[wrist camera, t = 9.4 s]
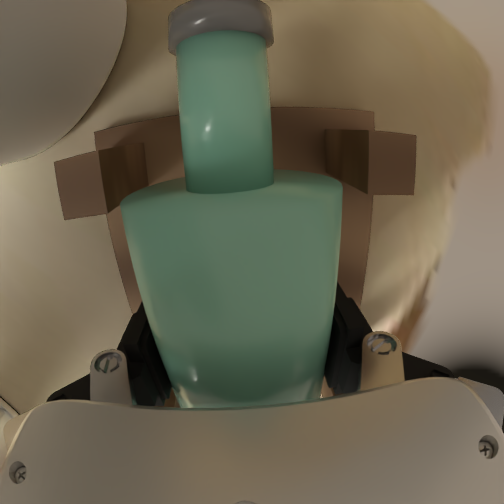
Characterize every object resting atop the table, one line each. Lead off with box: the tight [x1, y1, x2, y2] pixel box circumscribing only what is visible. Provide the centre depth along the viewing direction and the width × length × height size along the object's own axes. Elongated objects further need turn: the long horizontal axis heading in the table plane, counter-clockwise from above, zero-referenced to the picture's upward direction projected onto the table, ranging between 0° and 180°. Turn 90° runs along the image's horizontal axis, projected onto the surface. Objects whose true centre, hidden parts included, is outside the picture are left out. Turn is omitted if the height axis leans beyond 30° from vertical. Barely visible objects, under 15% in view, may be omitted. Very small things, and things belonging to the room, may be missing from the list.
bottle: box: [120, 0, 343, 408], centre depth 9 cm, size 16×6×6 cm, turn 3°
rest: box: [54, 107, 416, 408], centre depth 12 cm, size 16×13×6 cm
